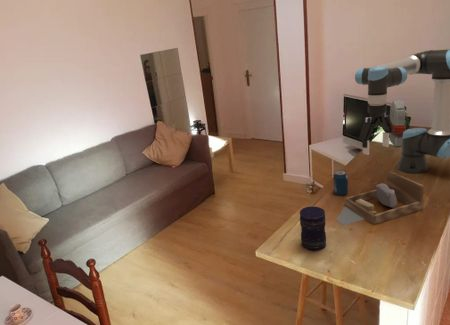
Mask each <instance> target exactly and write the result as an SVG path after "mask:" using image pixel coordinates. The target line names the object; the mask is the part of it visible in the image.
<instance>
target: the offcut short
mask: <svg viewBox="0 0 450 325" xmlns="http://www.w3.org/2000/svg"><path fill="white" fill-rule="evenodd" d="M356 204H358V205H359V206H361V207H363V208H364V209H366V210H368V211H369V212H370V211H373V210H374V211H375V205H374V204H373V203H370V202H368V201H364V200H362V199H359V200H356Z"/></svg>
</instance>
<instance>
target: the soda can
mask: <svg viewBox="0 0 450 325" xmlns="http://www.w3.org/2000/svg"><path fill="white" fill-rule="evenodd" d="M332 176H333V180H332V181H333V193H334V194H335V195H337V196H339V195H340V197H341V195H343V196H346V195H347V194H348V192H349V188H348V186H349V185H348V184H349V181H348V180H349V177H348V174H347V171H346V170H343V169H342V170H341V169H340V170H339V169H338V170H336V171H334V174H333V175H332Z"/></svg>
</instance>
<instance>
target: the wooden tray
mask: <svg viewBox="0 0 450 325" xmlns="http://www.w3.org/2000/svg"><path fill="white" fill-rule="evenodd" d="M386 174H387V176H386V177H387V178H386V179H387V180H386V185H387V186H388V188H389V189H392V190H394V193H395V196H396V199H397V200H399V202H400V201H401V202H402V203H404V204H405V205H401V206H398V207H395V208H392V209H391V208H390V209H389V210H385V211H382V212H377V214H375V215H374V214H372V213H371V212H369V211H368V210H366V209H364V208H363V207H361V206H359V205H358V204H356V200H359V199H362V200H364V201H366V202H368V201H369V200H373V199H378V196H377V192H376V188H375V189H373V190H368V191H366V192H362V193H359V194H354V195H351V196H347V197H344V199H343V200H344V207H345V206H346V207H347V208H349V209H350V210H352V211H353V212H355V213H356V214H358V215H359V216H361V217H362V218H364V219H365V221H367V222H369V223H371V224H372V225H373V226H374V225H377V224H379V223H384V222H387V221H390V220H393V219H396V218H400V217H403V216H406V215H409V214H412V213H417V212H419V211H423V200H424V190H425V189H424V187H425V186H424V184H421V183H419V182H417V181H414V180H412V179H409V178H407V177H405V176H402V175H400V174H398V173H396V172H394V171H391V170H388V171H387V173H386Z"/></svg>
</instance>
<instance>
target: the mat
mask: <svg viewBox="0 0 450 325" xmlns="http://www.w3.org/2000/svg"><path fill="white" fill-rule="evenodd" d="M364 220H365V221H366V219H364V218H363V217H361V216H360V215H358V214H357V213H355V212H354V211H352V210H351V209H349V208H348V207H346V206H345V205H344V206H343V208H342V210H341V212H340V214H339V215H338V216H337V218H336V222H338V223H340V225H341V226H347V225H348V226H349V225H350V224H354V223H358V222H362V221H364Z"/></svg>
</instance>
